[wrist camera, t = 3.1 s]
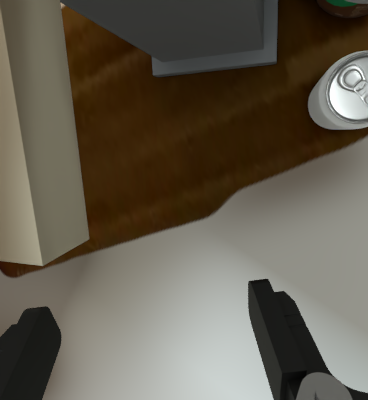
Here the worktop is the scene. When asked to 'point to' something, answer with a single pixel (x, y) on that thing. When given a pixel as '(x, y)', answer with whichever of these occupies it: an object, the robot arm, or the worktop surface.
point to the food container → (344, 7)
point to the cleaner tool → (37, 137)
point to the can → (342, 94)
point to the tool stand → (191, 31)
